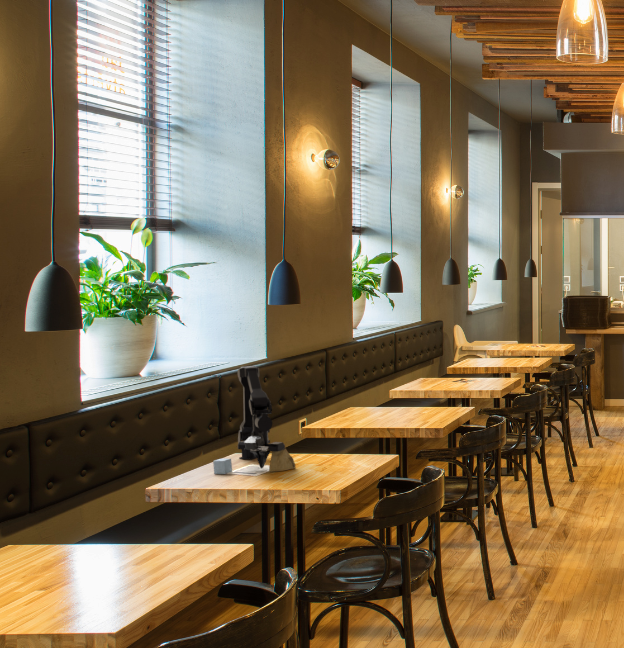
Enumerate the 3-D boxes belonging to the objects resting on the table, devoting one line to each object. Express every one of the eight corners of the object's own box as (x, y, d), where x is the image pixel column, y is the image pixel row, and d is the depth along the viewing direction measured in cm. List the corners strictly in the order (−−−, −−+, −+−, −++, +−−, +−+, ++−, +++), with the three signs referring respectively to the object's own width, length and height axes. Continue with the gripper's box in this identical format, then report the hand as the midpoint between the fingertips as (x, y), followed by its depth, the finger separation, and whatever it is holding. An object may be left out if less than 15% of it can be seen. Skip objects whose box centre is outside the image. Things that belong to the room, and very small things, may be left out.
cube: (221, 471, 318) (220, 458, 318) (232, 471, 315) (231, 458, 315) (214, 473, 313) (213, 460, 313) (224, 473, 311) (223, 461, 311)
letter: (251, 464, 328) (251, 464, 328) (280, 466, 321) (280, 466, 321) (225, 473, 312) (225, 473, 312) (256, 476, 305) (256, 475, 305)
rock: (298, 459, 320) (274, 455, 321) (298, 446, 314) (273, 442, 316) (292, 482, 312) (267, 477, 314) (292, 468, 306) (267, 463, 308)
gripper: (228, 430, 312) (230, 470, 312) (269, 432, 303) (271, 473, 303) (245, 426, 322) (246, 465, 322) (284, 427, 312) (286, 467, 313)
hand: (261, 467), depth 314 cm, fingers closed
